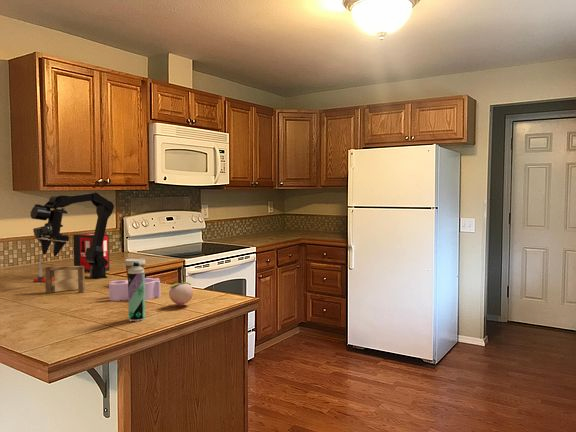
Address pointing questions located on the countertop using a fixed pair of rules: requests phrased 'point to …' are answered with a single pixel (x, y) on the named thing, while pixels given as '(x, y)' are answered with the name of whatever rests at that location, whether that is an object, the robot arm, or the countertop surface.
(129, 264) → the disposable coffee cup
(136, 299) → the spray can
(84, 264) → the cleaning product box
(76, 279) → the door
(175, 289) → the decorative fruit
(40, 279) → the tow hook
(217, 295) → the countertop surface
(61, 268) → the frame
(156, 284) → the clip
